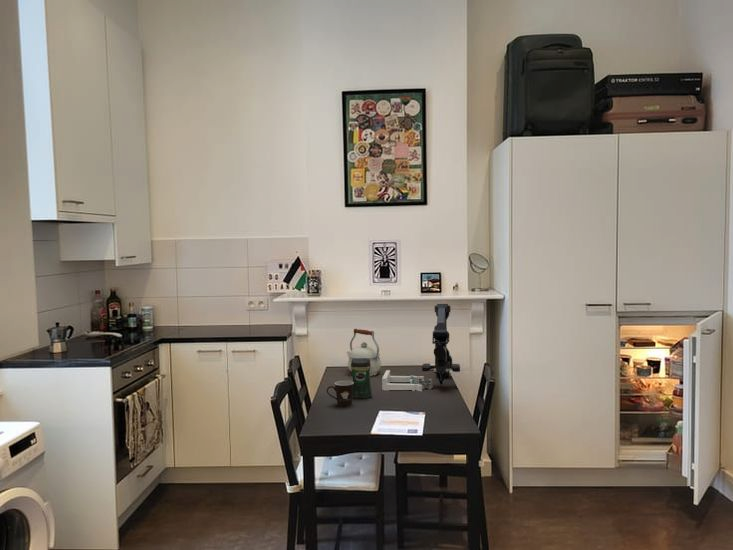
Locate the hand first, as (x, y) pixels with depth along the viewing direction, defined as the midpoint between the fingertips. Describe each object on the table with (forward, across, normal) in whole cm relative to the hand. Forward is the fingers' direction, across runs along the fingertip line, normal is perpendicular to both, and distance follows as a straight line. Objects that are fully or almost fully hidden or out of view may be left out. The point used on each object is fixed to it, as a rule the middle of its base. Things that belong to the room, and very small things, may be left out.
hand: (441, 384), depth 268 cm
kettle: (+2, -44, +25) cm, 51 cm away
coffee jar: (+1, -37, -20) cm, 42 cm away
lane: (+1, -20, 0) cm, 20 cm away
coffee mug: (+1, -44, -33) cm, 55 cm away
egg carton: (+2, -8, 0) cm, 8 cm away
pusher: (+1, -15, 0) cm, 15 cm away
